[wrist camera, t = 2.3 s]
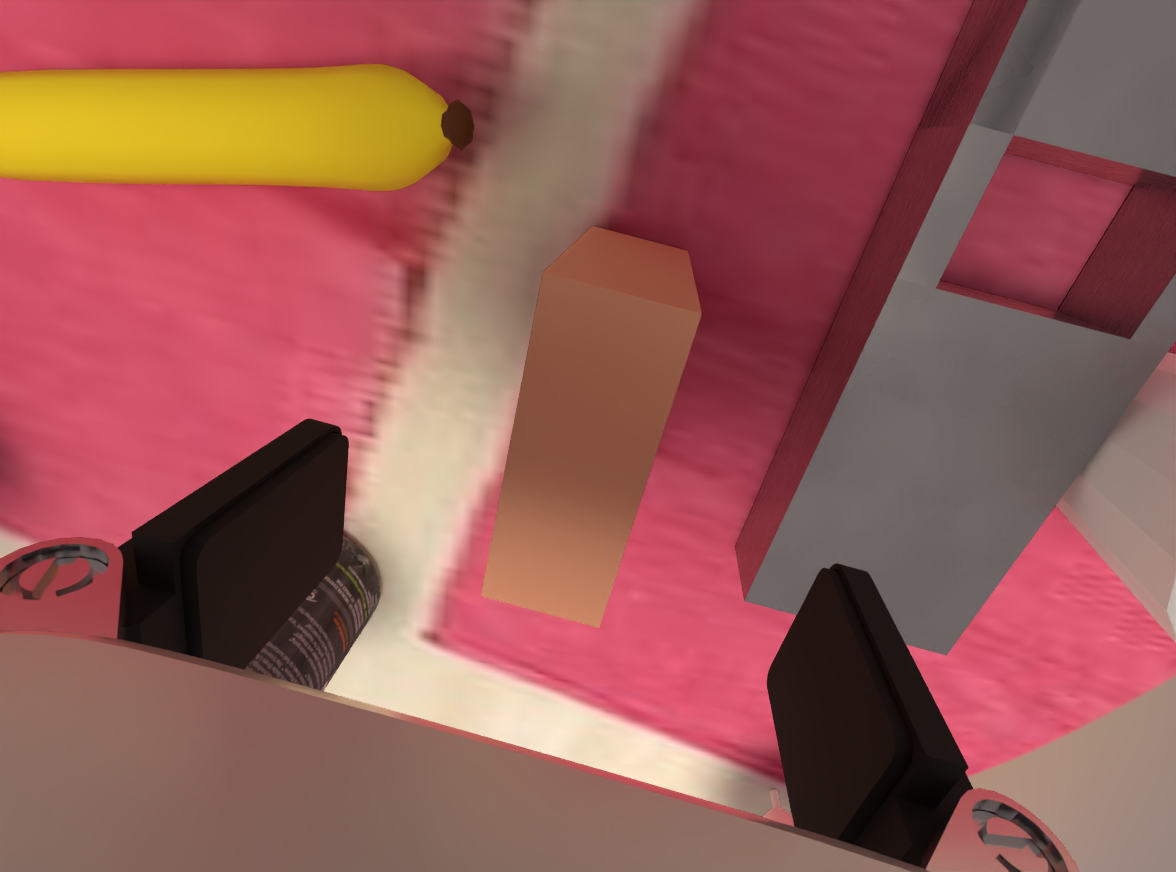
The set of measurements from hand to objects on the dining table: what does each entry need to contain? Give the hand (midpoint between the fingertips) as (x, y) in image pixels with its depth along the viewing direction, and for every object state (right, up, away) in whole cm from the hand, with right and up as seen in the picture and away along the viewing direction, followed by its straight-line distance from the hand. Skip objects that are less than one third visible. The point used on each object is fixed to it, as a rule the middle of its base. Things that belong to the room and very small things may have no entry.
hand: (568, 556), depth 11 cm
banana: (-11, +12, +7) cm, 17 cm away
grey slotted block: (+12, +7, +6) cm, 15 cm away
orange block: (+1, +5, +8) cm, 10 cm away
